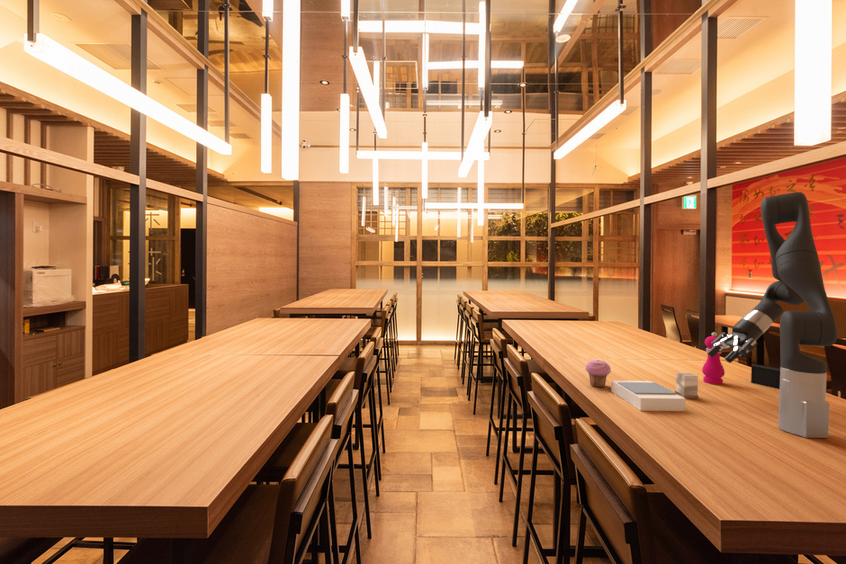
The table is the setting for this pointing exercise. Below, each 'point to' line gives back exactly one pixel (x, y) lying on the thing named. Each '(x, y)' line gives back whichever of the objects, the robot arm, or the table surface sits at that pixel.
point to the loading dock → (648, 396)
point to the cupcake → (598, 372)
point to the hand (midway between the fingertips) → (718, 358)
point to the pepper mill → (713, 364)
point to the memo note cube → (687, 385)
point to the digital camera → (765, 376)
